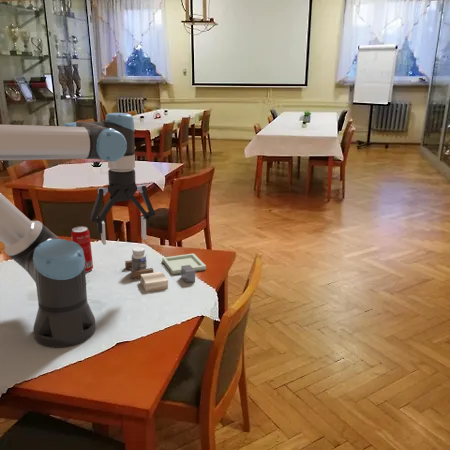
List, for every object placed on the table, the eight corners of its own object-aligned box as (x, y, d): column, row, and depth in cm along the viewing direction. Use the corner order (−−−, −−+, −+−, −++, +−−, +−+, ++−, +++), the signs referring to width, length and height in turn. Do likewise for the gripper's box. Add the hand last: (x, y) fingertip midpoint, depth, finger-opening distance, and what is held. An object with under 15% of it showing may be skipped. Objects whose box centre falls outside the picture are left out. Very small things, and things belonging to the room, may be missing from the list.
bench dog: (195, 281, 148) (195, 270, 147) (186, 283, 147) (186, 271, 145) (189, 275, 152) (189, 264, 151) (181, 277, 151) (181, 266, 150)
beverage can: (95, 266, 156) (93, 225, 151) (88, 274, 150) (85, 232, 145) (79, 265, 157) (76, 224, 152) (71, 273, 150) (67, 230, 146)
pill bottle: (143, 275, 151) (142, 252, 148) (129, 274, 152) (129, 250, 149) (148, 270, 155) (147, 247, 152) (135, 268, 156) (134, 245, 153)
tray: (206, 269, 157) (206, 265, 157) (173, 274, 152) (173, 270, 152) (193, 257, 167) (193, 253, 167) (162, 261, 163) (162, 257, 162)
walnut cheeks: (153, 276, 151) (153, 269, 150) (132, 279, 148) (132, 272, 147) (145, 265, 159) (145, 258, 158) (125, 267, 156) (125, 261, 155)
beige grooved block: (167, 289, 143) (167, 280, 142) (146, 292, 141) (146, 283, 140) (161, 279, 149) (161, 271, 148) (140, 282, 147) (140, 274, 146)
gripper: (158, 164, 137) (158, 232, 144) (76, 168, 127) (81, 241, 134) (165, 169, 131) (166, 240, 138) (80, 174, 121) (85, 250, 128)
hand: (124, 240), depth 136 cm, fingers open, 11 cm apart
